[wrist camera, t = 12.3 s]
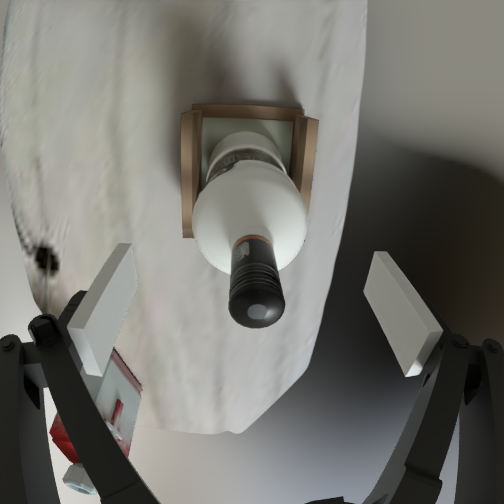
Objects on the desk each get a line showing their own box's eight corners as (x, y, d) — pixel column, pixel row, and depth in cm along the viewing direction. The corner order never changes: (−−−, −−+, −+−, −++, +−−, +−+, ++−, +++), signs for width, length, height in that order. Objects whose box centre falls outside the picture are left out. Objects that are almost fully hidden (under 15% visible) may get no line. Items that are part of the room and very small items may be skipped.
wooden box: (193, 104, 37) (181, 106, 29) (303, 109, 38) (319, 113, 30) (193, 215, 45) (183, 243, 37) (292, 219, 46) (303, 247, 38)
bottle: (148, 388, 63) (124, 506, 37) (112, 390, 64) (82, 498, 38) (117, 344, 57) (74, 476, 30) (80, 349, 58) (32, 466, 31)
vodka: (233, 209, 43) (226, 394, 17) (197, 153, 39) (113, 279, 13) (292, 176, 41) (379, 330, 15) (258, 117, 37) (306, 169, 11)
